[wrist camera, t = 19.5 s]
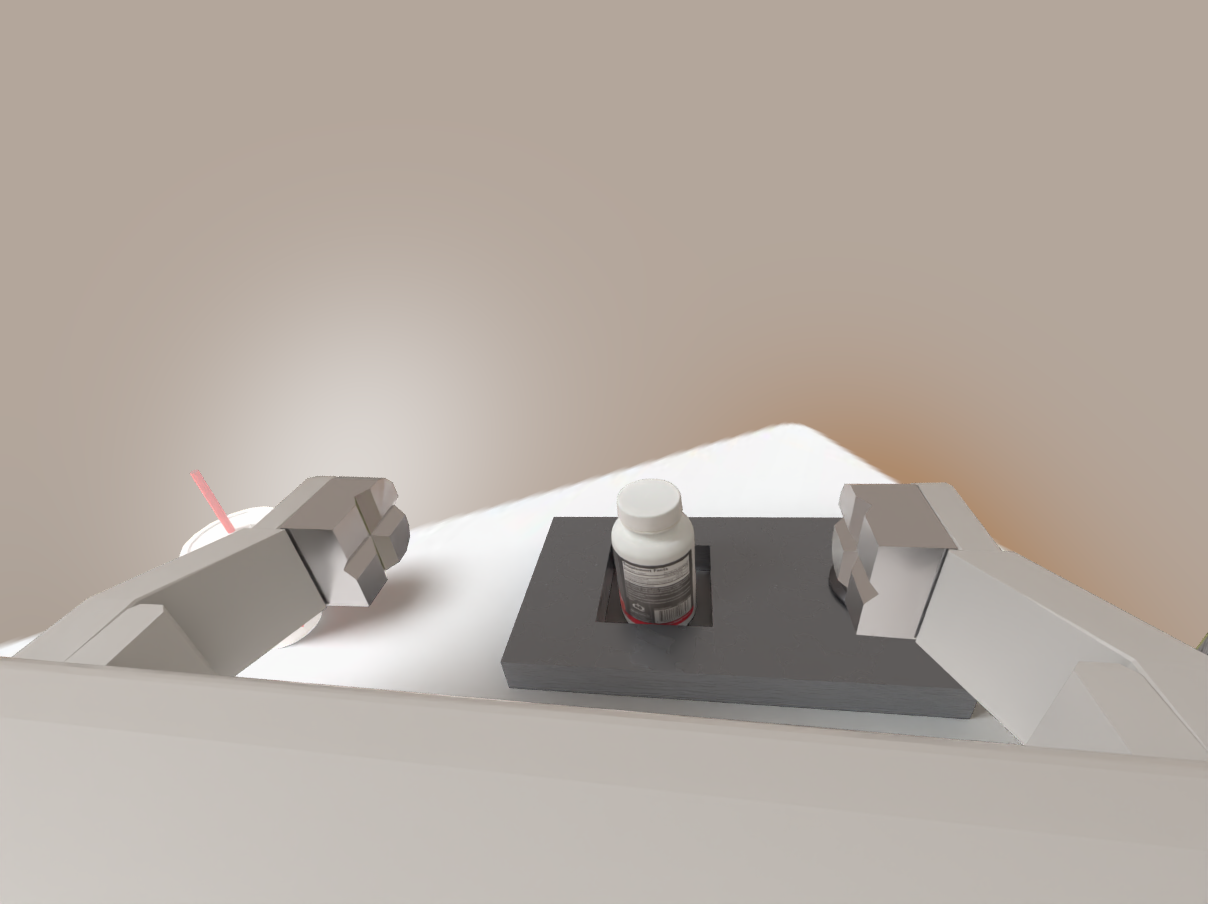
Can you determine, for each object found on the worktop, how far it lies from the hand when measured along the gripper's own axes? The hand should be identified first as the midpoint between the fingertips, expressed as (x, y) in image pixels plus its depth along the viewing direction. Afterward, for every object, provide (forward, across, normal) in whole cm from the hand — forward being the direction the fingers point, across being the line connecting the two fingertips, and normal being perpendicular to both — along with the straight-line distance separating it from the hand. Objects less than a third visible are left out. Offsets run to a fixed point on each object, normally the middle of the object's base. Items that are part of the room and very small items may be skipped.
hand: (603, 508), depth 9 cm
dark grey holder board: (+18, -3, +23) cm, 29 cm away
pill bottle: (+18, +1, +23) cm, 29 cm away
